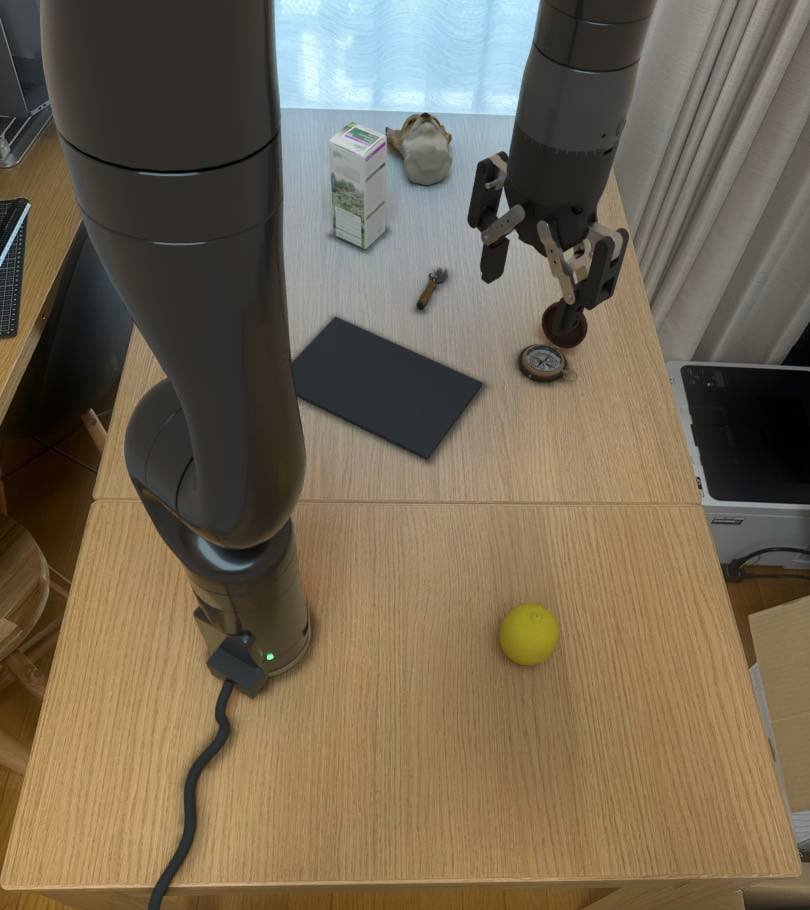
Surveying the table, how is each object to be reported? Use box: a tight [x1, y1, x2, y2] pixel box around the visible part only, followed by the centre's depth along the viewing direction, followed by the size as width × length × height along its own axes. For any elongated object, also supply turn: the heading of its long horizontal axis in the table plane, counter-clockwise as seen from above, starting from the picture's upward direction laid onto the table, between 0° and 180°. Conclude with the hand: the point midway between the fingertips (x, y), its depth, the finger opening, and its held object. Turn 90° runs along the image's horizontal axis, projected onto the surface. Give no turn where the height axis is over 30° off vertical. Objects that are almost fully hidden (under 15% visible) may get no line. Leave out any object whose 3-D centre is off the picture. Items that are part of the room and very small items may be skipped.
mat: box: [292, 316, 483, 461], centre depth 92 cm, size 14×22×1 cm, turn 60°
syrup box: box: [328, 121, 388, 250], centre depth 102 cm, size 6×6×14 cm
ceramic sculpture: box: [384, 111, 453, 186], centre depth 114 cm, size 11×9×15 cm
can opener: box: [416, 267, 449, 310], centre depth 102 cm, size 9×2×1 cm, turn 153°
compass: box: [518, 300, 589, 382], centre depth 93 cm, size 8×8×7 cm
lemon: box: [499, 602, 560, 666], centre depth 71 cm, size 6×6×8 cm
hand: (526, 304), depth 65 cm, fingers open, 8 cm apart
